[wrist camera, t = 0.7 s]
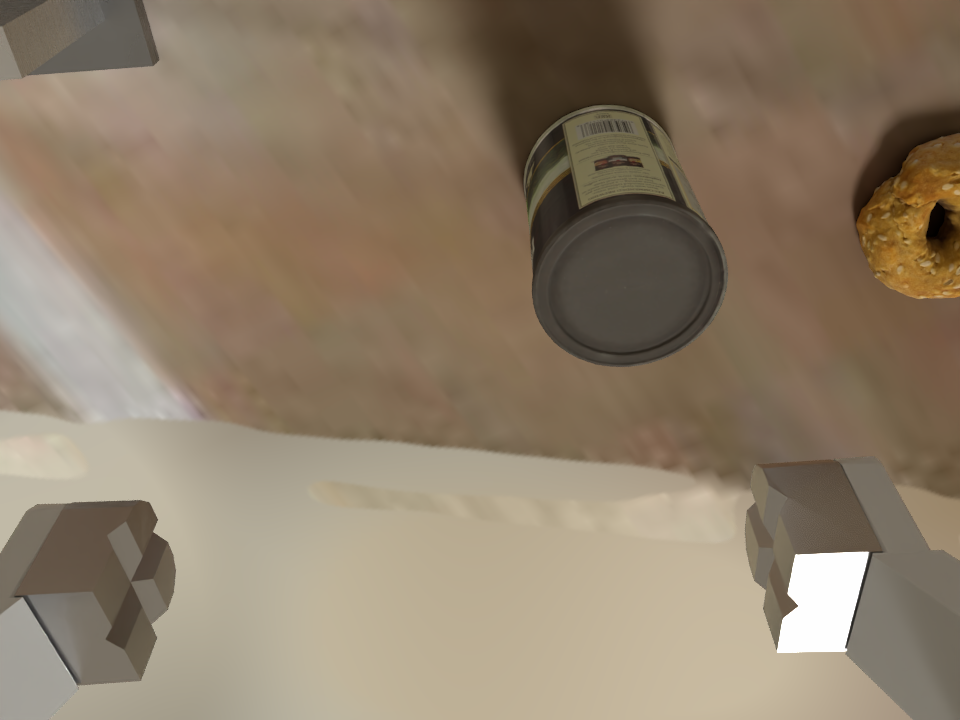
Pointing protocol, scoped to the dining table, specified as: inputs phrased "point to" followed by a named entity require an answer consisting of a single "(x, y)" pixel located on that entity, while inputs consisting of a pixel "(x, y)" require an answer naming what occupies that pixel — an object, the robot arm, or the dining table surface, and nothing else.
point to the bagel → (917, 223)
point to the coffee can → (618, 240)
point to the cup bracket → (73, 36)
